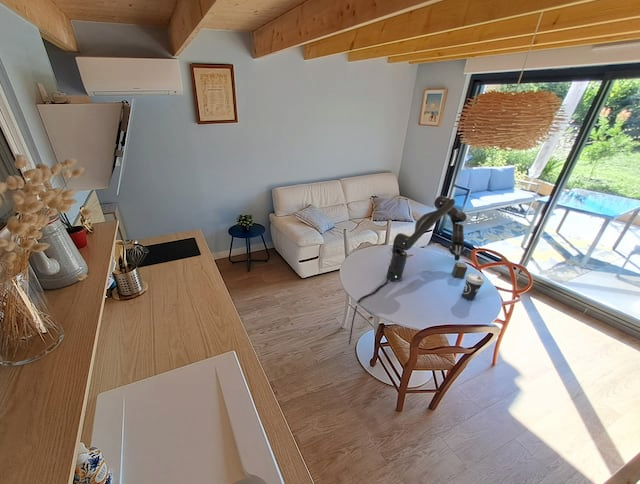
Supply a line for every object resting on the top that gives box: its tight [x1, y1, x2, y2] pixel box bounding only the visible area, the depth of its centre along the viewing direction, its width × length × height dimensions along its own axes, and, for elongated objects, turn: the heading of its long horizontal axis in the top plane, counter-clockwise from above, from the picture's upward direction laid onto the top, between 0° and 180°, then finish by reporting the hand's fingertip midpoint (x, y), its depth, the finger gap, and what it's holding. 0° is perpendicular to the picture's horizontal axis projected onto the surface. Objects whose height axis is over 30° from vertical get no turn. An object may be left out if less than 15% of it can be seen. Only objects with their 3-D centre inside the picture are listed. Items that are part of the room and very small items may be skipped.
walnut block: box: [451, 261, 468, 279], centre depth 200 cm, size 6×6×9 cm
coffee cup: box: [461, 273, 485, 301], centre depth 177 cm, size 10×10×15 cm
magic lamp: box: [388, 247, 414, 259], centre depth 217 cm, size 7×18×11 cm, turn 77°
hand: (457, 260), depth 206 cm, fingers closed
